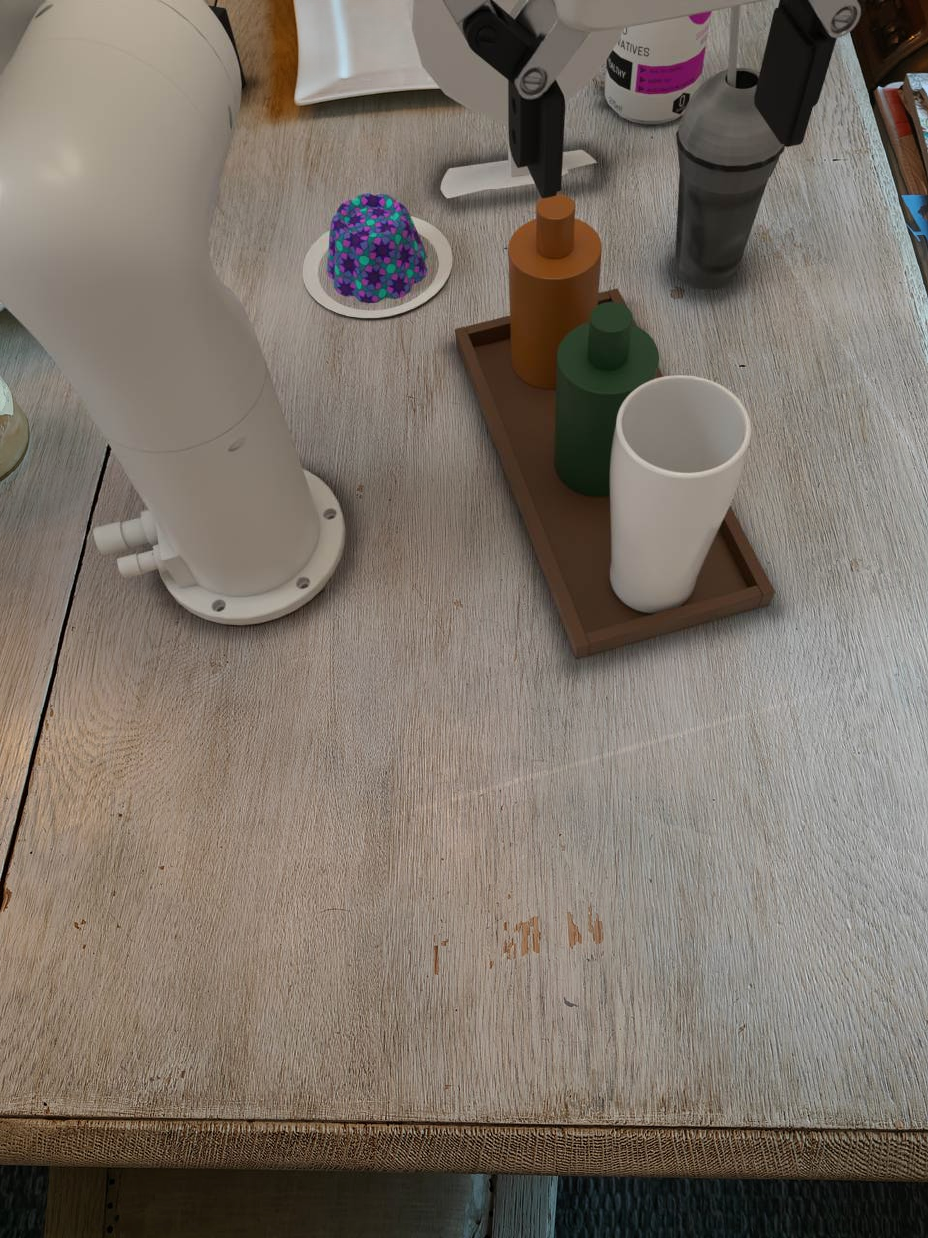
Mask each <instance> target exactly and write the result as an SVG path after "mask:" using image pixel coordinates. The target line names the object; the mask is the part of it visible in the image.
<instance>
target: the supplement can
mask: <svg viewBox="0 0 928 1238" xmlns="http://www.w3.org/2000/svg"><path fill="white" fill-rule="evenodd" d="M711 16H712V11H710V12H705V13H700V14H695V15H690V16H685V17H680V18H675V19H670V20H664V21H659V22H654V23H648V24H643V25H638V26H632V27H627V28H623V29H622V33H621V37H620V39H619V41H618V42H617V44H616V46H615V47H614V49H613V50H612V52H611V53H610V55H609V57H608V58H607V60H606V64H605V82H604V96H605V100H606V102H607V104H608V105H609V106H610V107H611V108H612V109H613V111H615V113H616V114H618V115H619V116H620V117H621V118H623V119H625V120H627V121H630V122H632V123H637V124H642V125H662V124H665V123H669V122H672V121H675V120H676V119H678V118H680V117H682V116H683V114H684V111H685V109H686V106H687V104H688V102H689V100H690V98H691V97H692V95H693V94H694V93H695V91H696V90H697V89H698V88H699V87H700V86H701V81H702V75H703V69H704V62H705V56H706V49H707V43H708V42H707V41H708V35H709V29H710V23H711Z"/></svg>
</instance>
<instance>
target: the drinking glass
mask: <svg viewBox="0 0 928 1238" xmlns="http://www.w3.org/2000/svg"><path fill="white" fill-rule="evenodd" d="M751 437H752V423H751V419H750V415H749V412H748V410H747V409H746V406H745V405H744V404H743V402H742V401H741V400H740V398H739V397H738V396H736V394H734V393H733V392H732V390H731V391H730V389H728V388H726V386H723V385H722V384H720V383H717V382H716V381H713V380H710V379H708V378H704V377H702V376H701V377H700V376H697V375H688V374H671V375H665V376H664V375H663V377H660V378H656V379H653V380H650V381H648V382H646V383H644V384H642V385H640V386H639V387H637V388H636V389H635V390H633V391H632V392H631V393H630V394H629V395H628V396H627V397H626V399H625V400H624V401H623V403H622V405H621V407H620V409H619V411H618V414H617V419H616V425H615V430H614V436H613V442H612V449H611V458H610V475H609V487H610V521H611V564H610V582H611V585H612V588H613V590H614V592H615V594H616V595H617V596H618V598H619V599H620V600H621V601H622V602H623V603H625V604H626V605H627V606H629V607H630V608H632V609H634V610H637V611H640V612H644V613H650V614H656V613H660V612H663V611H667V610H670V609H674V608H677V607H679V606H681V605H682V604H683V603H685V602H686V601H687V599H688V598H689V597H690V595H691V594H692V592H693V590H694V588H695V585H696V581H697V578H698V574H699V572H700V570H701V568H702V565H703V563H704V561H705V559H706V556H707V554H708V552H709V550H710V548H711V545H712V543H713V541H714V539H715V537H716V535H717V532H718V530H719V528H720V526H721V524H722V522H723V520H724V517H725V515H726V513H727V511H728V509H729V507H730V506H731V504H732V501H733V500H734V497H735V495H736V492H737V490H738V486H739V484H740V481H741V477H742V474H743V471H744V467H745V464H746V460H747V456H748V455H747V454H748V451H749V446H750V443H751Z"/></svg>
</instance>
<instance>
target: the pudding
mask: <svg viewBox="0 0 928 1238" xmlns="http://www.w3.org/2000/svg"><path fill="white" fill-rule="evenodd" d="M420 235H421V236H422V237H424V238H425V239H426V240H428V242H430V244H431V245H432V247H433V248H434V249H435V252H436V254H437V259H438V266H437V267H438V268H437V272H436V275H435V277H434V279H433V281H432V282H431V284H430V285H429V286H427V288H426V289H425V290H424V291H423V292H422V293H421V294H419V295H417V297H415V298H413V299H411V300H410V301H408V302H405V303H402V304H400V305H397V306H393V307H390V308H385V309H384V308H383V309H367V310H366V309H359V308H353V307H350V306H346V305H344V304H341V303H339V302H338V301H336V300H335V299H333V298H331V297H330V296H329V295H328V294H327V293H326V292H325V290H324V289H323V286H322V284H321V282H320V280H319V268H320V264H321V261H322V258H323V257H324V256H325V254H326V252H327V270H326V271H327V275H328V277H329V278H331V279H332V280H333V282H334V283H333V288H334V289H335V292H336V293H338V294H339V295H342V296H343V297H355V298H356V300H358V301H359V302H360V303H365V304H376V303H379V302H381V301H382V300H384V299H391V300H396V299H399V298H403V297H405V296H406V295H407V294H409V293H411V291H412V287H413V285H415V284H418V283H421V282H422V281H423V280H424V279H425V278H426V277H427V273H428V267H427V264H426V262H425V261H426V260H427V258H428V253H427V251H426V249H425V245H424V244H423V242H422V241H423V240H422V239H421V237H420ZM453 257H454V256H453V250H452V247H451V245H450V243H449V240H448V239H447V238H446V236H445V235H444V233H443V232H441V231H440V230H439V229H438V228H437V226H436V227H435V226H434V225H433V224H431V223H429V222H428V221H426V220H423V219H421V218H418V217H416V216H413V215H412V216H411V214H410V212H409V210H408V209H407V208H406V207H405V205H404V204H402V203H401V202H399V201H397V200H396V198H395V197H393V196H391V195H389V194H385V193H379V194H372V193H362V194H359V195H357V196H356V197H355V198H354V199H347V200H346V201H344V202H342V203H341V204H339V207H338V208H337V210H336V213H335V214H334V215H333V217H332V219H331V222H330V225H329V229H328V230H327V231H325V232H324V233H323V234H321V235H320V236H319V237H318V238H317V240H315V241H314V243H313V244H312V245H311V246H310V248H309V250H308V251H307V254H306V256H305V258H304V260H303V265H302V279H303V282H304V286H305V288H306V289H307V292H308V293H309V294H310V296H311V297H312V298H313V299H314V300H315V301H316V302H317V303H318V304H320V305H322V307H324V308H326V309H327V310H329V311H332V312H334V313H337V314H339V315H343V316H347V317H350V318H351V317H352V318H360V319H378V318H386V317H392V316H397V315H399V314H402V313H405V312H406V313H407V312H408V311H411V310H413V309H416V308H417V307H419V306H421V305H423V304H425V303H426V302H428V301H429V300H430V299H431V298H433V297H434V296H435V295H436V294H437V293H438V292H439V291H440V290H441V289H442V288H443V287H444V285H446V282H447V280H448V279H449V277H450V274H451V271H452V268H453V260H454V258H453Z"/></svg>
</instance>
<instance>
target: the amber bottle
mask: <svg viewBox="0 0 928 1238" xmlns="http://www.w3.org/2000/svg"><path fill="white" fill-rule="evenodd" d="M516 229H517V230H515V231H514V233H513V234H512V235H511V237H510V239H509V242H508V245H507V258H508V259H507V260H508V291H509V294H508V295H509V316H510V328H511V360H512V366H513V369H514V370H515V372H516V374H517V375H518V376H519V377H520V378H521V379H522V380H523V381H525V382H526V383H528V384H530V385H532V386H535V387H538V388H542V389H556V372H557V352H558V348H559V345H560V343H561V342H562V340H563V339H564V337H565V336H566V335H567V334H568V333H569V332H570V331H572V330H573V329H574V328H576V327H578V326H580V325H582V324H584V323H587V322H590V314H591V312H592V310H593V309H594V308H595V307H596V306H598V294H599V293H600V281H601V280H600V278H601V263H602V253H603V252H602V251H603V244H602V240H601V238H600V235H599V234H598V232H597V231H596V230H595V229H594V228H593V226H591V225H590V224H589V223H587V222H585V221H583V220H581V219H578V218H576V203H575V202H574V200H573V199H572V198H571V197H570V196H569V195H566V194H562V193H557V195H556V196H553V197H549V198H544V199H542V198H541V197H540V199H539V200H538V201H537V203H536V206H535V218H534V219H532V220H530V221H528V222H526V223H524V224H522V225H521V226H520V227H518V228H516Z"/></svg>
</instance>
